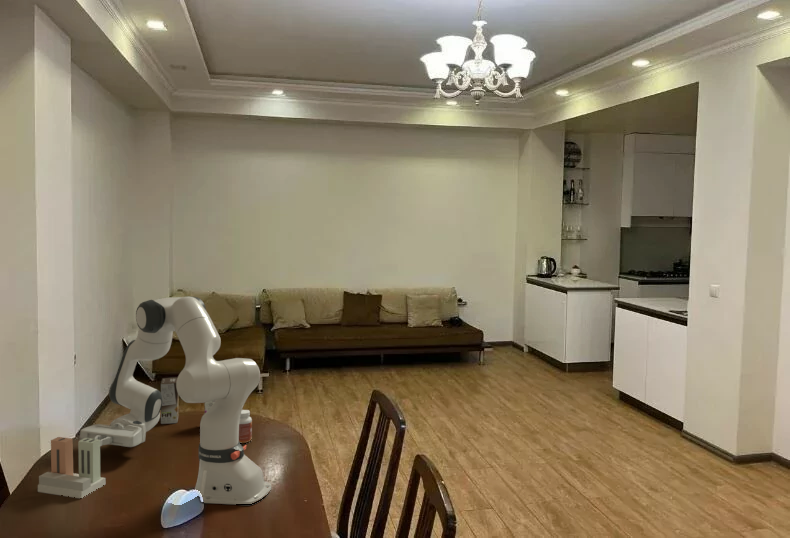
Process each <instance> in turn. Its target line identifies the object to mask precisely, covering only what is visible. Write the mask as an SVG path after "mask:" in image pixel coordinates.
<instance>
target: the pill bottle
mask: <svg viewBox="0 0 790 538" xmlns="http://www.w3.org/2000/svg"><path fill="white" fill-rule="evenodd" d="M250 415H251V411H250V410H249V409H242V411H241V415H240V421H239V442H240V443H242V442H248V441H250V440H251V439H252V440H253V419H252V417H251V416H250ZM252 440H251V441H252Z"/></svg>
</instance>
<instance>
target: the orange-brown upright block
mask: <svg viewBox="0 0 790 538" xmlns="http://www.w3.org/2000/svg"><path fill="white" fill-rule="evenodd" d="M73 440H74V439H73V438H69V437H61V436H58V437H55V438H53V439H50V460H51V462H50V463H51V464H50V465H51V471H50V472H52V473H58V474H65V475H72V476H73V473H74V447H73V446H74V445H73V443H74V442H73Z"/></svg>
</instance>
